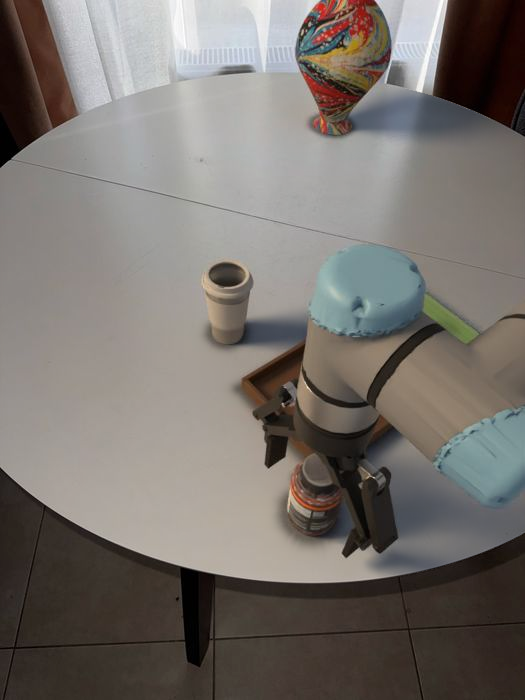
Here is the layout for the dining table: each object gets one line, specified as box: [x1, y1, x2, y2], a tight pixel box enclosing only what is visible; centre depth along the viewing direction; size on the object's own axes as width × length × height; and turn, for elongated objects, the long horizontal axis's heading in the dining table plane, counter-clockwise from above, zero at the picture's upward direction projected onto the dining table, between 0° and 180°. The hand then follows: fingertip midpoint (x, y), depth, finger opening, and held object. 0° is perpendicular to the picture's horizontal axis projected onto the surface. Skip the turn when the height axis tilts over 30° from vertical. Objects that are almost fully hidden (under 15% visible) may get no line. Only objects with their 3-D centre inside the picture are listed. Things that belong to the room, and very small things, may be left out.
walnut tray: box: [240, 339, 395, 459], centre depth 79 cm, size 17×15×2 cm
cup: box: [200, 258, 255, 345], centre depth 82 cm, size 7×7×12 cm
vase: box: [294, 0, 393, 136], centre depth 115 cm, size 19×19×30 cm
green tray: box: [422, 292, 481, 344], centre depth 87 cm, size 17×15×2 cm
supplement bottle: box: [286, 453, 344, 536], centre depth 65 cm, size 6×6×11 cm
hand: (311, 502), depth 67 cm, fingers open, 13 cm apart
